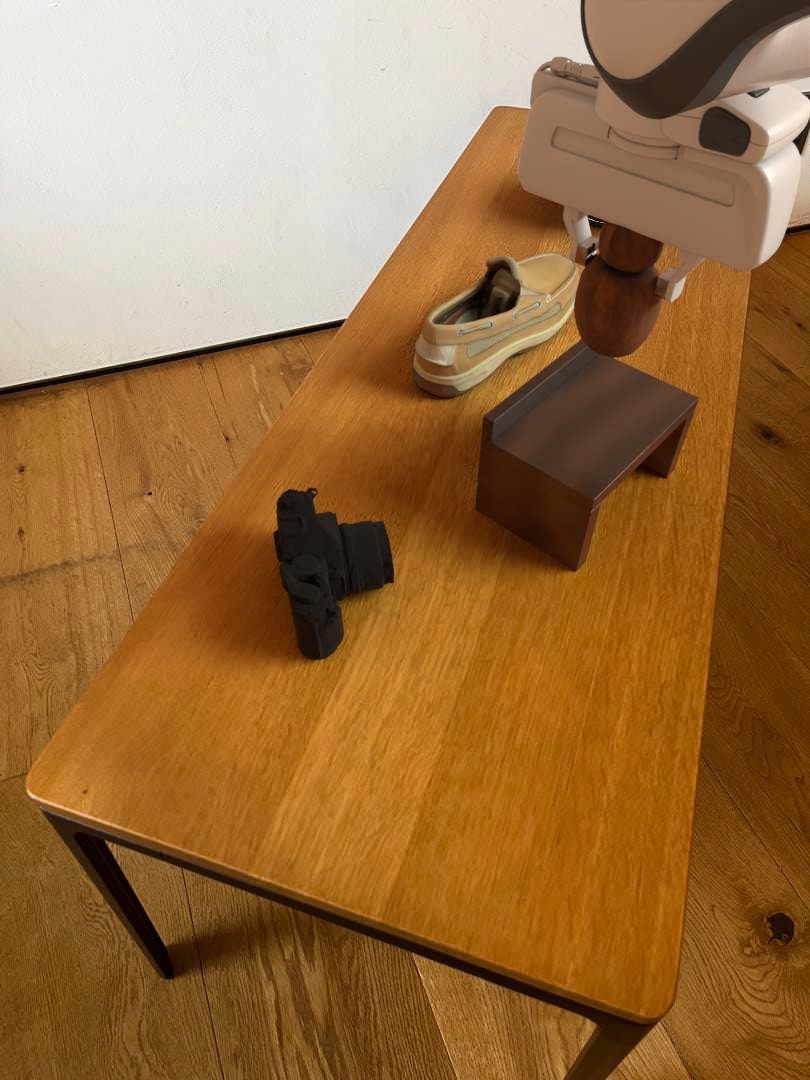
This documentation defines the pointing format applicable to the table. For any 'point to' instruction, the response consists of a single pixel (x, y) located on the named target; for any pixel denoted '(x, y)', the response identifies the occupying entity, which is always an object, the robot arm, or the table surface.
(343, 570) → the film camera
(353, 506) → the table surface
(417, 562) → the table surface
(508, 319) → the boat shoe
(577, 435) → the display shelf
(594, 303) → the wooden figurine
